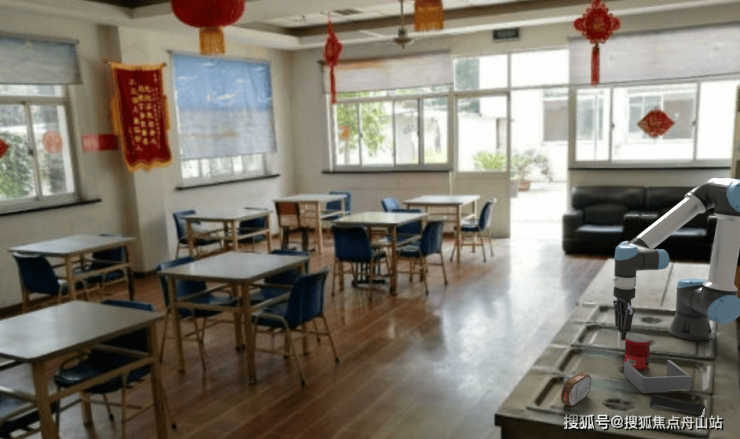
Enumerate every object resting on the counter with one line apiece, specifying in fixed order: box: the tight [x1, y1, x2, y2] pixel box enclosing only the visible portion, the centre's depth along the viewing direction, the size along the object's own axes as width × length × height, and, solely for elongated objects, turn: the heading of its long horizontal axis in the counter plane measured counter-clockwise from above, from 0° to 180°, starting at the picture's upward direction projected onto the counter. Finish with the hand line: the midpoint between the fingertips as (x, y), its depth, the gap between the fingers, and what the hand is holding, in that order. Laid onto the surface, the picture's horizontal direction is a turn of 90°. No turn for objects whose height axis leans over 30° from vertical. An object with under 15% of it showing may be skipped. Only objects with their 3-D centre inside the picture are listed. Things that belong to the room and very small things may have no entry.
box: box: [623, 359, 693, 394], centre depth 198 cm, size 16×14×5 cm
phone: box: [649, 394, 706, 418], centre depth 182 cm, size 8×1×15 cm
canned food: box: [624, 332, 651, 371], centre depth 212 cm, size 8×8×11 cm
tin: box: [560, 371, 592, 407], centre depth 187 cm, size 15×3×8 cm, turn 133°
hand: (621, 347), depth 224 cm, fingers closed
